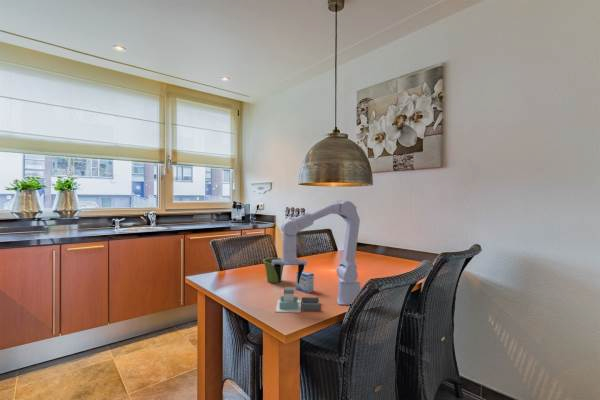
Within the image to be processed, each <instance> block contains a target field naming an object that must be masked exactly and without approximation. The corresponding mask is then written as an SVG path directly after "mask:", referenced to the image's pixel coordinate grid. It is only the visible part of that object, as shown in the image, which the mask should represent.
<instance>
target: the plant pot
mask: <svg viewBox="0 0 600 400" xmlns="http://www.w3.org/2000/svg"><path fill="white" fill-rule="evenodd" d="M279 259H282V257H269V258H264V259H263V261H262V262H263V263H264V267H265V272H266V273H265V274H266V281H267V282H268V283H270V284H273V283H274V284H279V280H278V276H277V273H276V271H275V269H274V265H272V260H279ZM284 266H285V265H281V279H283V278H282V276H283V270H284Z"/></svg>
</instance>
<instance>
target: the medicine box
mask: <svg viewBox="0 0 600 400" xmlns="http://www.w3.org/2000/svg"><path fill="white" fill-rule="evenodd" d="M295 276H296V279H295V281H296V282H295V289H296V290H297V291H300V292H303V293H306V294H309V293H312V292H314V286H315V285H314V282H315V279H314V277H315V276H314V273H312V272H308V271H305V270H303V271H302V274H301V277H300V280H299V283H298V271H296V275H295Z"/></svg>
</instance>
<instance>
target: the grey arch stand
mask: <svg viewBox="0 0 600 400" xmlns="http://www.w3.org/2000/svg"><path fill="white" fill-rule="evenodd" d="M319 299H320V298H319V297H318V296H317V297H316V296H302V297H301V311H320V309H321V307H320V302H319V301H320V300H319Z"/></svg>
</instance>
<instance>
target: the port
mask: <svg viewBox="0 0 600 400" xmlns="http://www.w3.org/2000/svg"><path fill="white" fill-rule="evenodd" d="M301 311H302V299H298V295H294V302H284V295H280V299H277V303H276V307H275V313H291V314H292V313H295V314H296V313H298V314H299V313H302V312H301Z"/></svg>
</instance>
